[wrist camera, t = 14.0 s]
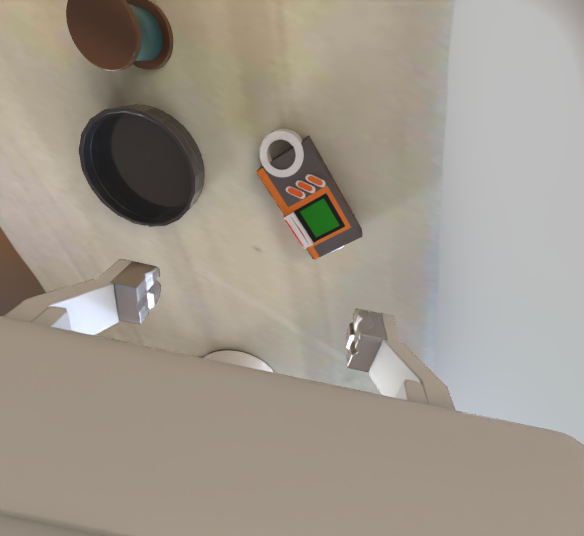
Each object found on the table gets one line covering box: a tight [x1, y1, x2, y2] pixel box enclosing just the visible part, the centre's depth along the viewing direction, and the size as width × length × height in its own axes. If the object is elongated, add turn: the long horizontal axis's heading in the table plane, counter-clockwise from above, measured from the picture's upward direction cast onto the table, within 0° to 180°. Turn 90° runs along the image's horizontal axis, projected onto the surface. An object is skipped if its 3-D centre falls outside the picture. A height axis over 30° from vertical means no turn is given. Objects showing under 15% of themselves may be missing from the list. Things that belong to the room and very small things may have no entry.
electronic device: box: [256, 128, 362, 259], centre depth 37 cm, size 7×3×15 cm
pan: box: [79, 104, 205, 227], centre depth 37 cm, size 13×13×3 cm
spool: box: [66, 0, 173, 71], centre depth 28 cm, size 6×6×7 cm
